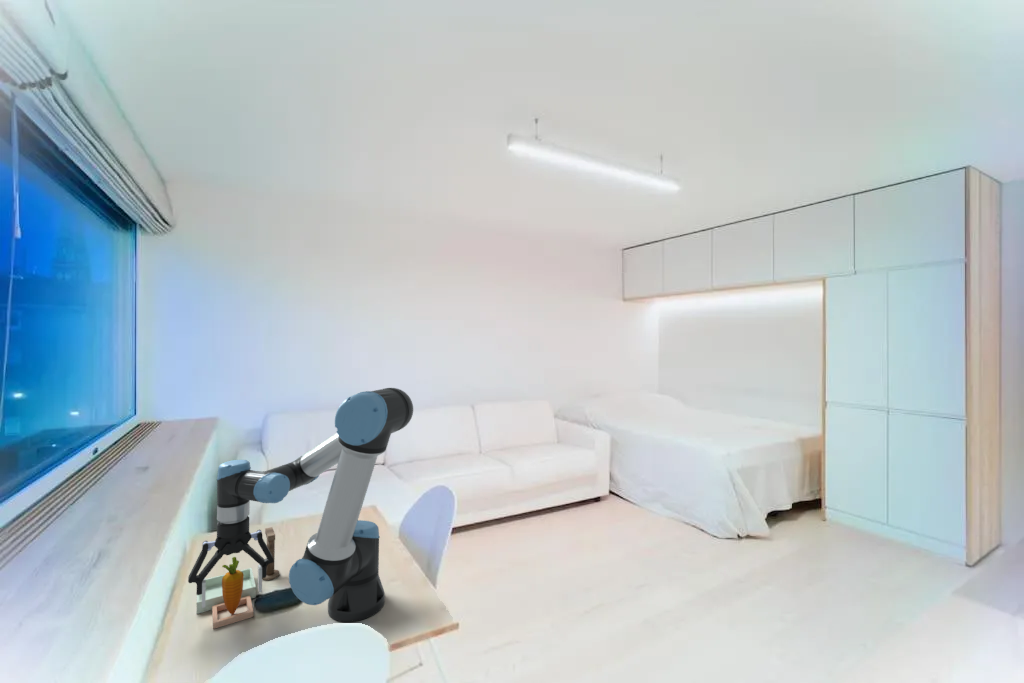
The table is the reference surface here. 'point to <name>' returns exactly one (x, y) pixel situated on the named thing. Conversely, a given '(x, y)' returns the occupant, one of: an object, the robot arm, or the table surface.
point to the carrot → (232, 586)
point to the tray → (215, 590)
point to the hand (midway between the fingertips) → (232, 597)
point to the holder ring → (232, 618)
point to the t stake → (270, 570)
